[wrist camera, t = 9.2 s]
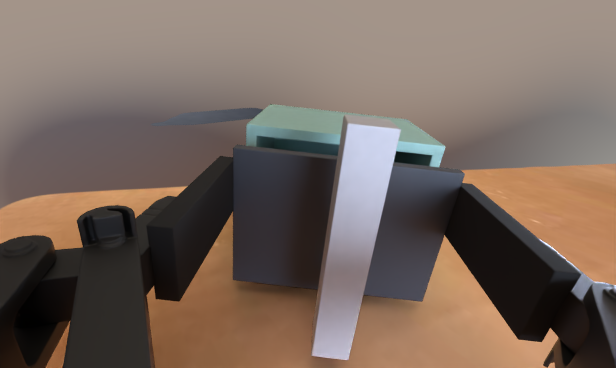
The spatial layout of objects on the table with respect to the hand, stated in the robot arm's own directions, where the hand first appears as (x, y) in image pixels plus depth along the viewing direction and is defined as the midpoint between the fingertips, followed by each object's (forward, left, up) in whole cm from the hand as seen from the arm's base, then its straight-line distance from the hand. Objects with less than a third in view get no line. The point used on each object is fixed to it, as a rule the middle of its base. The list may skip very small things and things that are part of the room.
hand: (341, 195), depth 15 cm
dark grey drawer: (-1, +1, -6) cm, 6 cm away
